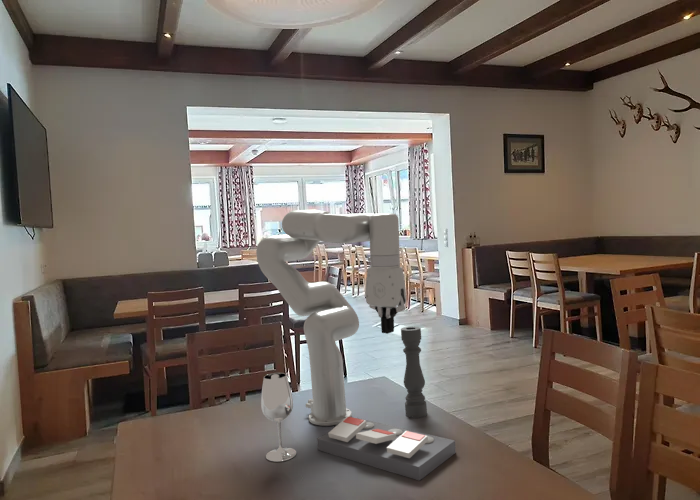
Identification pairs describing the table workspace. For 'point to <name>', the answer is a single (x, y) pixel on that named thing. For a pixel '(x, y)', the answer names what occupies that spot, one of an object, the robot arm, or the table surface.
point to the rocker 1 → (347, 429)
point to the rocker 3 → (407, 444)
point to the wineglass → (277, 410)
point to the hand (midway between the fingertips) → (387, 332)
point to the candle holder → (413, 373)
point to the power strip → (378, 456)
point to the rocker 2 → (376, 436)
